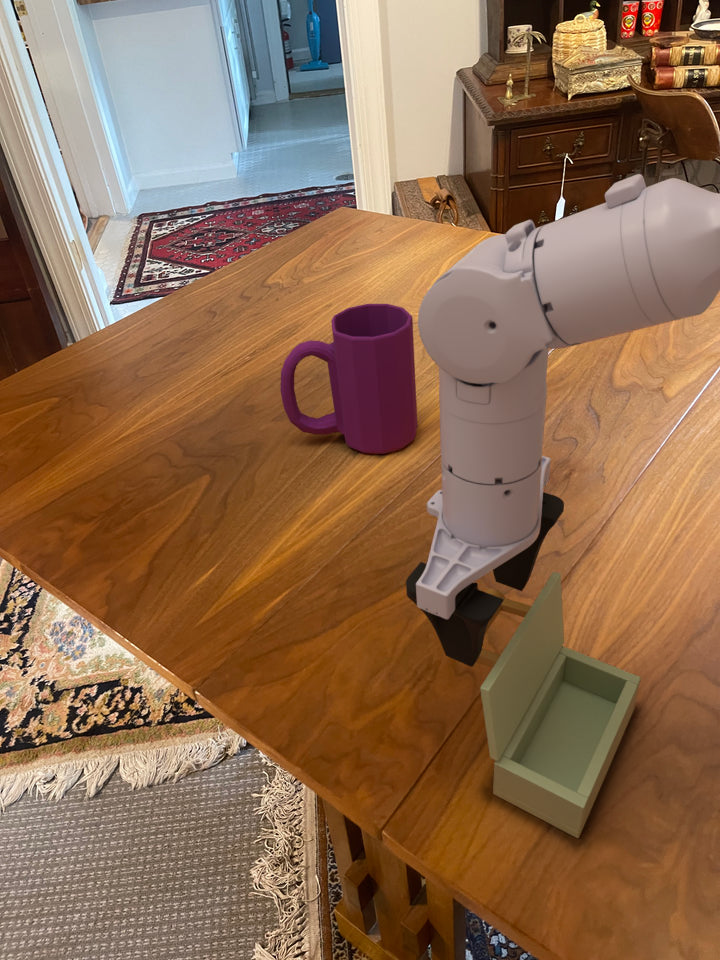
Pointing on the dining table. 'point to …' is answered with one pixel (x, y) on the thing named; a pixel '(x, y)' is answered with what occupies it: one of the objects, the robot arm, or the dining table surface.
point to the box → (567, 740)
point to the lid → (520, 662)
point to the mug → (363, 379)
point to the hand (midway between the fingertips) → (487, 618)
